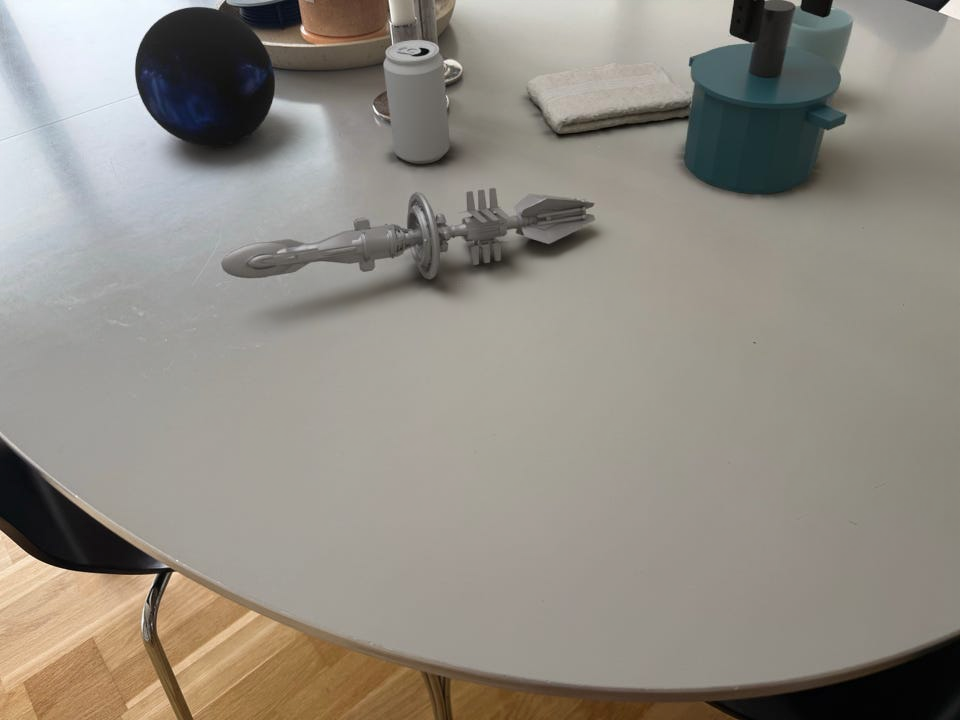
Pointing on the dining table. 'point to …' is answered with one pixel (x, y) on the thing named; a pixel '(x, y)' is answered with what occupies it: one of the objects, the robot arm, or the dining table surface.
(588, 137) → the dining table surface
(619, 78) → the washcloth
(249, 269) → the spaceship
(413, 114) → the beverage can
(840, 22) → the cup
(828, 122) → the pot
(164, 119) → the decorative sphere
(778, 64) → the lid
